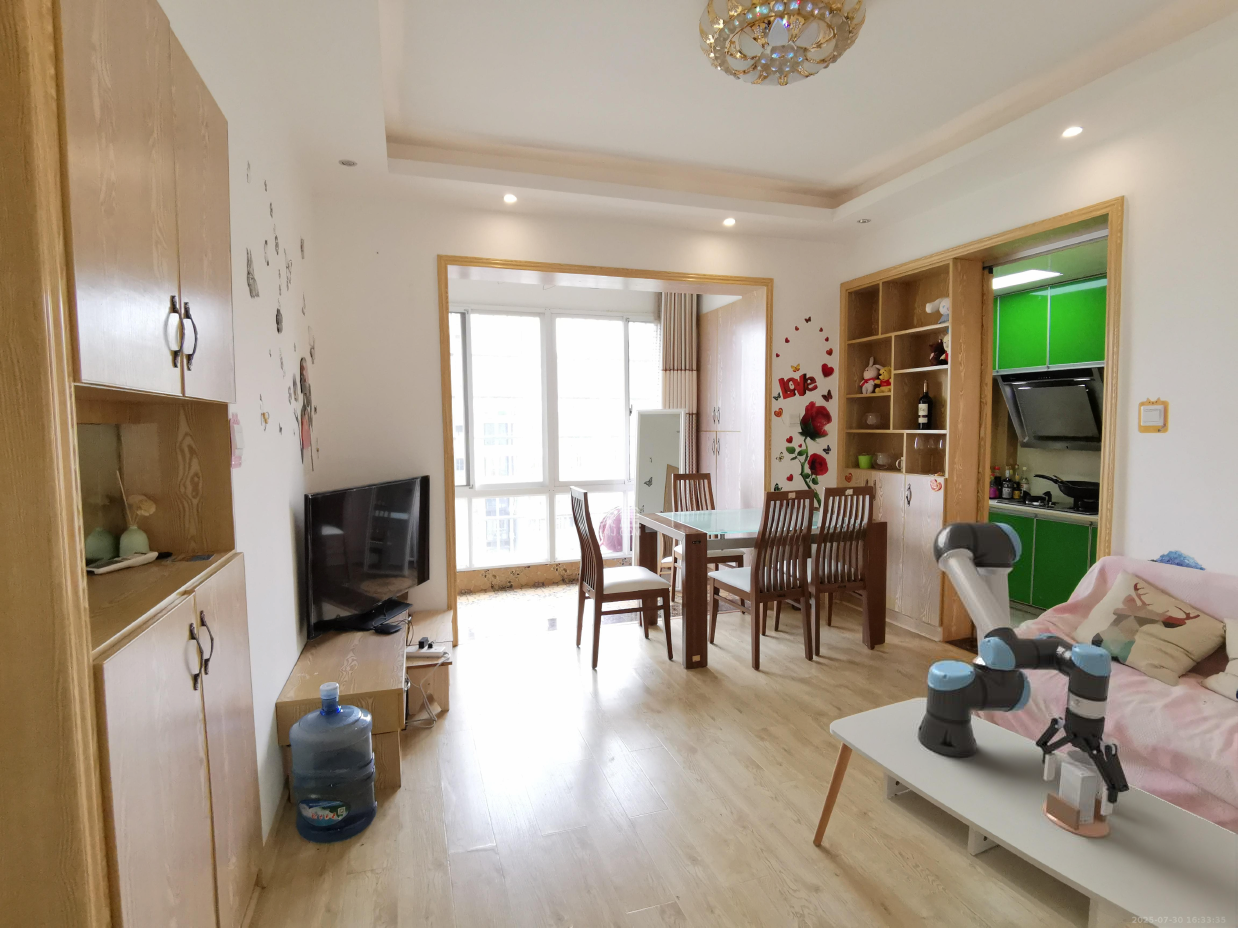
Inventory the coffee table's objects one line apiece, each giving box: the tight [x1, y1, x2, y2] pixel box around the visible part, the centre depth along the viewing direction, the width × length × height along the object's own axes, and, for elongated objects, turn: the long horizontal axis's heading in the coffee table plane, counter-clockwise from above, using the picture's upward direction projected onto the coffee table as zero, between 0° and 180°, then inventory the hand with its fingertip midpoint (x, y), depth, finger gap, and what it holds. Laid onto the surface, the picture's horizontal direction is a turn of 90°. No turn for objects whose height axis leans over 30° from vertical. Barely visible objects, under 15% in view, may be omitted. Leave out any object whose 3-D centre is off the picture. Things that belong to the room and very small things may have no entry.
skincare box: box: [1058, 761, 1097, 824], centre depth 151 cm, size 6×4×12 cm
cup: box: [1065, 749, 1104, 796], centre depth 160 cm, size 8×8×10 cm
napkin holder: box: [1042, 791, 1111, 839], centre depth 151 cm, size 13×13×6 cm
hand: (1076, 795), depth 151 cm, fingers open, 13 cm apart
